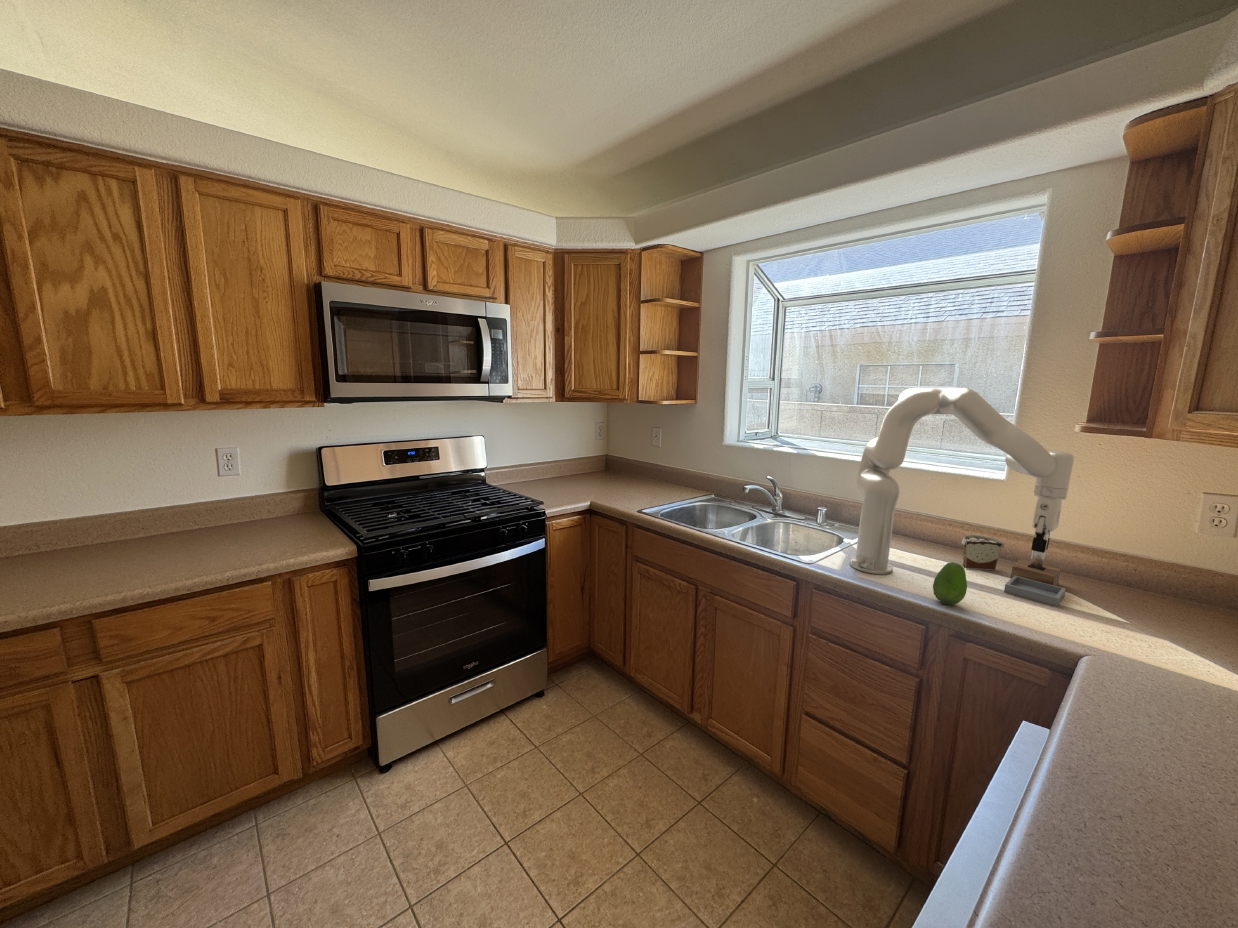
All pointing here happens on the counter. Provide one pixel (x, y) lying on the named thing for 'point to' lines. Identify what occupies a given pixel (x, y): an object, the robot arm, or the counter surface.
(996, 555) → the food container
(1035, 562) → the pin
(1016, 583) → the tray
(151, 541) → the counter surface
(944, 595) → the avocado
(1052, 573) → the pin block
